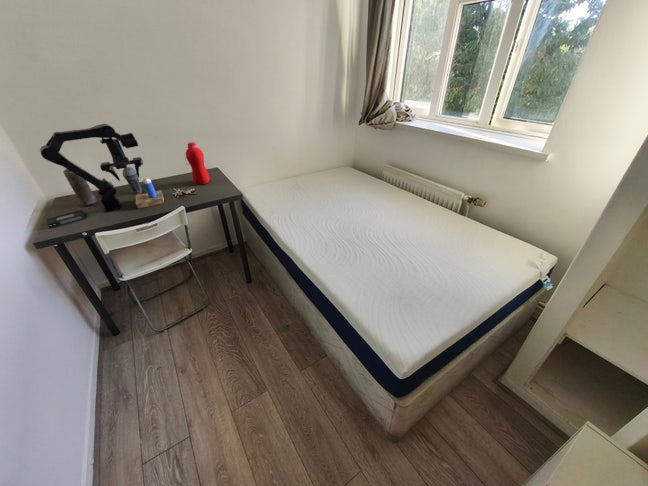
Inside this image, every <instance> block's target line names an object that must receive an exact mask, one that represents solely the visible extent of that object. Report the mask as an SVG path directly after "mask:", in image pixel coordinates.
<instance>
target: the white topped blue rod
mask: <svg viewBox="0 0 648 486" xmlns="http://www.w3.org/2000/svg"><path fill="white" fill-rule="evenodd" d="M142 184H143V186H144V188H145V191H146V193H148V196H149V198H155V197H157V194H156V192H155V191H156V189H155V186H154V185H153V183H152V180H151V179H150V178H147V177H146V178H144V179H143V180H142Z"/></svg>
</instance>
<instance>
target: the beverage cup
mask: <svg viewBox="0 0 648 486" xmlns="http://www.w3.org/2000/svg"><path fill="white" fill-rule="evenodd" d="M122 177H123V178H124V179H125V181H126V182H127V184H128V185H129V188H130V189H131V190H132V192H133V194H134V195H140V194H143V188H142V185H141V182H140V180H139V179H140V178H138V176H137V172H136V169H135V168H133V167H131V166H127V168H122Z"/></svg>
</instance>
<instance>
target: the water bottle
mask: <svg viewBox="0 0 648 486" xmlns="http://www.w3.org/2000/svg"><path fill="white" fill-rule="evenodd" d="M186 145H187V149H186V151H185V158H184V160H185V161H184V162H185V163H186V165H187V166H189V165H190V168H191V175H192V176H191V177H192V181H193V183H194V184H195V185H198V186H199V185H207V184H208V183H210V181H211V177H210V174H209V171H208V169H207V168H206V166H205V162H204V161H205V160H204V159H205V158H204V153H203V151H202V149H201V148H199V147H197V144H196V142H193V141H192V142H189V143H187V144H186ZM187 162H188V163H187Z"/></svg>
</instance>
